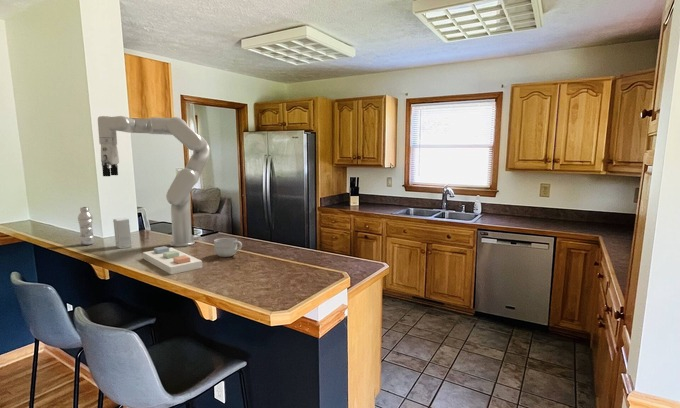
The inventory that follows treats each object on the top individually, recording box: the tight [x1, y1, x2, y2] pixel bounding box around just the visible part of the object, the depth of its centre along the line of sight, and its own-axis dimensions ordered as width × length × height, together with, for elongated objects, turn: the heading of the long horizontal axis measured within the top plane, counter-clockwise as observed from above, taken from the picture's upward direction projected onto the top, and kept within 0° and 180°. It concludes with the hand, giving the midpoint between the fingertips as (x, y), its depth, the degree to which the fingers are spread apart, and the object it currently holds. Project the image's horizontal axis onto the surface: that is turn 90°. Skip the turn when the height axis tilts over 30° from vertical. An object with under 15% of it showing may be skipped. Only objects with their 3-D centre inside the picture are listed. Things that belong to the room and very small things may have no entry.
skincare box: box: [112, 217, 133, 250], centre depth 188 cm, size 8×6×15 cm
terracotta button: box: [173, 255, 190, 264], centre depth 153 cm, size 5×5×2 cm
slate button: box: [153, 245, 170, 254], centre depth 168 cm, size 5×5×2 cm
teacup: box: [213, 237, 243, 258], centre depth 173 cm, size 14×11×8 cm
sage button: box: [163, 251, 179, 259], centre depth 160 cm, size 5×5×2 cm
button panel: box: [142, 247, 203, 275], centre depth 161 cm, size 13×32×3 cm, turn 46°
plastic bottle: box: [77, 206, 96, 246], centre depth 191 cm, size 6×7×20 cm
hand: (110, 175), depth 183 cm, fingers open, 9 cm apart
